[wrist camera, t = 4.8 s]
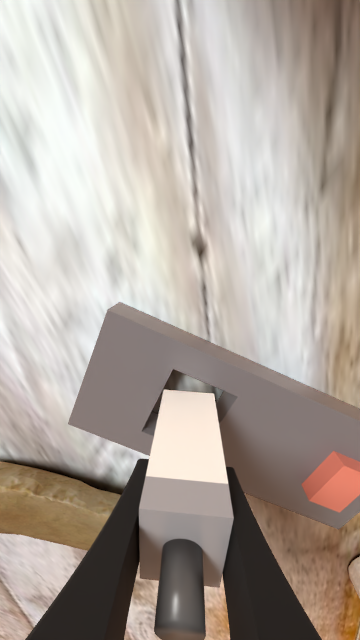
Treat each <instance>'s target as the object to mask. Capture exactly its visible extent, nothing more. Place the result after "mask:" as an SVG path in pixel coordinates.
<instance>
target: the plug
mask: <svg viewBox="0 0 360 640" xmlns="http://www.w3.org/2000/svg"><path fill="white" fill-rule="evenodd" d="M233 519H234V517H233V510H232V504H231V498H230V491H229V485H228V479H227V472H226V466H225V460H224V453H223V447H222V441H221V435H220V428H219V422H218V416H217V409H216V403H215V397H214V394H213V393H201V392H188V391H176V390H164V391H163V395H162V400H161V405H160V410H159V415H158V419H157V424H156V429H155V434H154V439H153V443H152V448H151V453H150V458H149V462H148V467H147V472H146V477H145V482H144V486H143V491H142V496H141V501H140V506H139V548H140V578H141V579H149V580H158V581H159V586H158V596H157V606H156V616H155V626H154V632H155V634H156V635H157V636H158V637H159V638H160V639H162V640H204V638H205V636H206V630H205V602H204V586H210V587H220V582H221V577H222V573H223V568H224V563H225V558H226V553H227V548H228V544H229V539H230V534H231V529H232V524H233Z"/></svg>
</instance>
